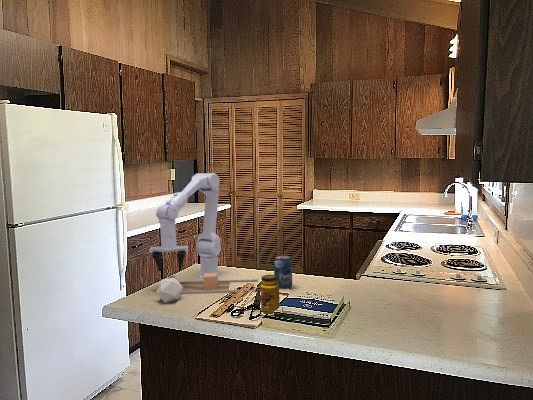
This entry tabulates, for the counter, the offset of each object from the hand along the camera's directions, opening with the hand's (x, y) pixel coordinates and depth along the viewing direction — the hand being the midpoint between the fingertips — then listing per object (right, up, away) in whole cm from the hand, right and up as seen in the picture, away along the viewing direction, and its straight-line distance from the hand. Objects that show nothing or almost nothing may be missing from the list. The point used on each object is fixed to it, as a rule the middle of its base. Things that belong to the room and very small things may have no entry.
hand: (170, 270), depth 172 cm
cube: (+16, -7, +1) cm, 17 cm away
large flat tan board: (+11, -7, +1) cm, 13 cm away
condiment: (+39, -9, -26) cm, 48 cm away
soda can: (+44, -7, 0) cm, 44 cm away
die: (+3, -9, -12) cm, 15 cm away
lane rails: (+16, -7, +1) cm, 17 cm away
